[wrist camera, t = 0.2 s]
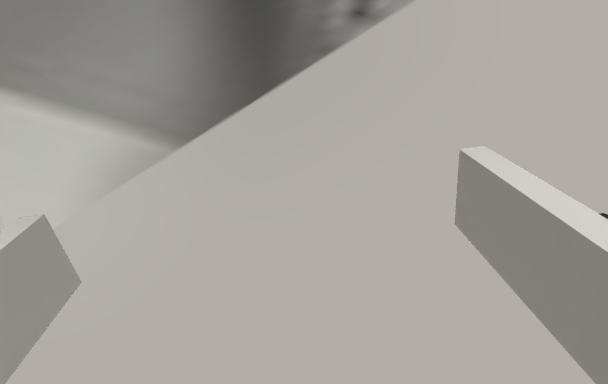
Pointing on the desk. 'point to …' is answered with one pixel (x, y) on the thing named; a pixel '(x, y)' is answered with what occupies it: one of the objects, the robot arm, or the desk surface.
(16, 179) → the desk surface
